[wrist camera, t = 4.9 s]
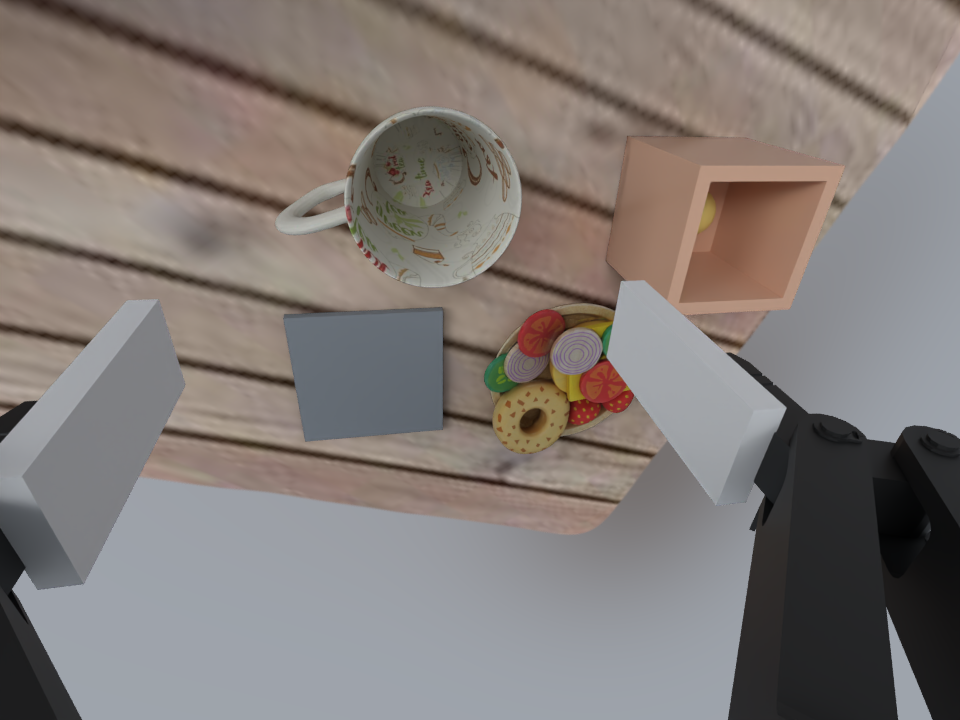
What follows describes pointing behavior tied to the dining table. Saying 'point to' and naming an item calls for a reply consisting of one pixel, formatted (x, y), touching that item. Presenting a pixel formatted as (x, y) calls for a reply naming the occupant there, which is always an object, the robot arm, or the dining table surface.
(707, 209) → the ball
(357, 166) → the mug
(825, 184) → the planter
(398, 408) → the coaster
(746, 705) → the robot arm
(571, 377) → the toy food set
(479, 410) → the dining table surface
